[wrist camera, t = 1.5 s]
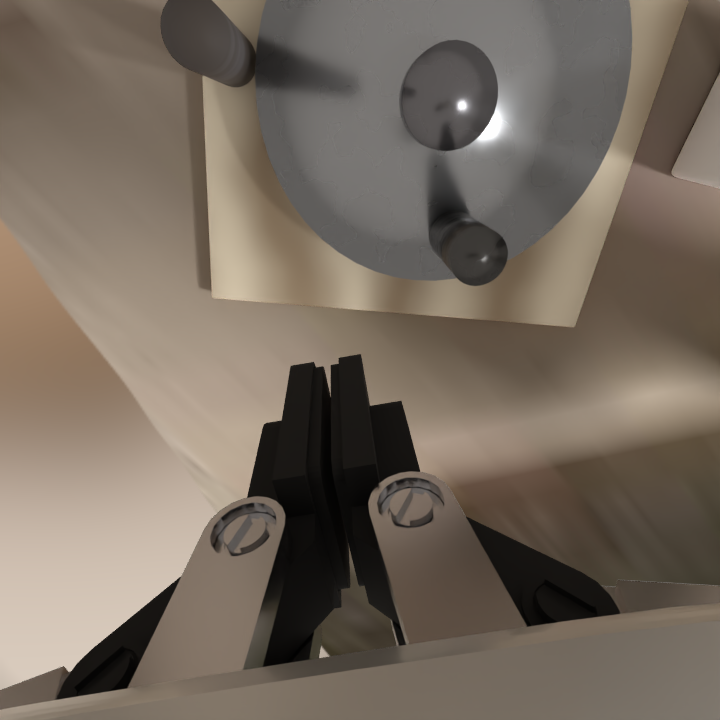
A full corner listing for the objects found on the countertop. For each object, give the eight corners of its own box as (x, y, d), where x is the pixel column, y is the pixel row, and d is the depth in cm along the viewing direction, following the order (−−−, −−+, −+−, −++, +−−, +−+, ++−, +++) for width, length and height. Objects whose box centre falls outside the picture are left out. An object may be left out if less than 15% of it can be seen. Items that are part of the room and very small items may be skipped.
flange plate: (698, -183, 19) (861, -323, 13) (552, 285, 28) (610, 326, 22) (261, -273, 17) (225, -482, 11) (258, 259, 26) (238, 295, 20)
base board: (732, -164, 21) (945, -319, 13) (567, 321, 31) (637, 378, 24) (193, -273, 18) (104, -532, 11) (215, 292, 29) (177, 345, 22)
